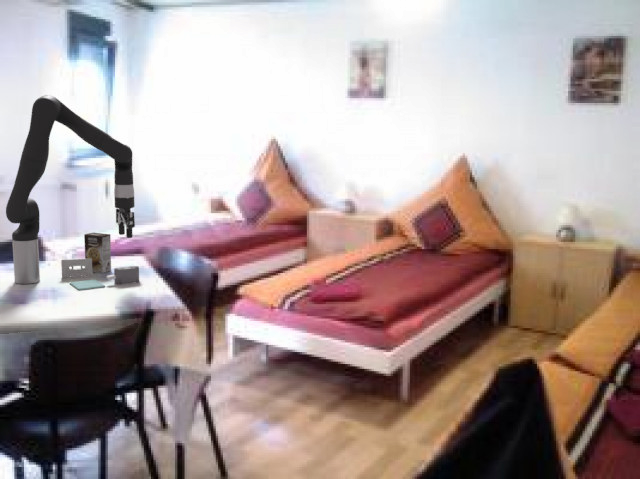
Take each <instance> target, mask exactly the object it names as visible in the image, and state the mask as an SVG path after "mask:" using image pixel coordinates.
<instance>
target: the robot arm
mask: <svg viewBox="0 0 640 479" xmlns="http://www.w3.org/2000/svg"><path fill="white" fill-rule="evenodd" d="M30 116H31V118H30V125H29V130H28V134H27V137H26V140H25V142H24V145H23V149H22V152H21V155H20V156H21V157H20V161H19V165H18V168H17V169H18V170H17V172H16V177H15V180H14V184H13V187H12V190H11V193H10V195H9V198H8V201H7V203H6V207H5V216H6V218H7V221H9V222H10V223H11V224H18V227H17V228H16V229H15V230H14V231H13V232H12V234H11V238H12V255H13V258H12V259H13V273H14V274H13V275H14V283H15V284H19V285H29V284H36V283H39V282H40V281H41V275H40V254H39V238H38V237H39V236H38V234H39V232H40V209H39V205H38V203H37V201H36V200H34V199H33V198H30V195H31V192H32V190H33V189H34V188H35V186H36V185H37V184H38V182H39V181H40V180H41V179H42V176H43V175H44V174H45V171H46V167H47V164H48V160H49V154H50V136H51V132H52V129H53V127H54V124H55V122H57V123H60V124H61V125H63V126H65V127H67V128H68V129H69V130H70V131H72V132H73V133H74V134H76V136H78V138H81V140H83V141H84V142H85V143H87V144H88V145H90V146H92V147H94V148H96V149H97V150H98V151H101V152H103V153H104V154H105V155H107V156H108V157H110V158H112V159H113V160H114V190H113V191H114V193H113V194H114V208H116V209H115V223H116V224H117V226H118V234H119V235H120V236H123V235H125V233H126V236H125V237H126V238H127V239H132V238H133V229H134V228H135V227H136V224H135V223H136V222H135V221H136V220H135V212H133V211H131V209H133V208H135V188H134V174H133V173H134V172H133V150H132V148H131V147H130V146H129V145H127V144H124V143H122V142H120V141H119V140H117V139H115V138H113V137H112V135H110V134H108V133H107V132H105V131H104V130H102V129H100V128H99V127H97V126H96V125H94V124H92V123H90V122H89V121H87V120H86V119H84V118H82V117H81V116H80V115H78V114H77V113H76V112H74V111H73V110H72V109H70V108H69V107H68V106H67V105H65V104H64V103H63V102H62V101H61V100H59V99H58V98H57V97H56V96H54V95H51V94H50V95H49V94H45V95H42V96H40V97H39V98H37V99H35V101H33V104H32V108H31V115H30Z"/></svg>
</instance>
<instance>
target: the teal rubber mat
mask: <svg viewBox="0 0 640 479" xmlns="http://www.w3.org/2000/svg"><path fill="white" fill-rule="evenodd" d="M69 285H70V286H72V287H73V288H75V289H76V290H78V291H84V290H85V291H86V290H92V289H93V290H94V289H101V288H105V287H106V285H104V284H103V283H102V282H100V281H99V280H97V279H95V278H94V279H87V280H79V281H69Z"/></svg>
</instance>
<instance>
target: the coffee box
mask: <svg viewBox="0 0 640 479" xmlns="http://www.w3.org/2000/svg"><path fill="white" fill-rule="evenodd" d="M83 236H84V259H89V258H91V259H92V271H93V273H99V274H104V273H107V272H111V271H112V252H111V251H112V250H111V246H112V245H111V243H112V242H111V234H110V233H103V232H101V233H100V232H89V233H85V234H84V235H83Z"/></svg>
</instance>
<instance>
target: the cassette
mask: <svg viewBox="0 0 640 479" xmlns="http://www.w3.org/2000/svg"><path fill="white" fill-rule="evenodd" d="M60 262H61V263H60V264H61V278H62V279H74V278H75V279H76V278H90V277H94V276H93V274H94V272H93V271H92V259H91V258H89V259H85V258H71V259H70V258H69V259H68V258H67V259H61V261H60ZM74 267H80V268H74Z"/></svg>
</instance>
